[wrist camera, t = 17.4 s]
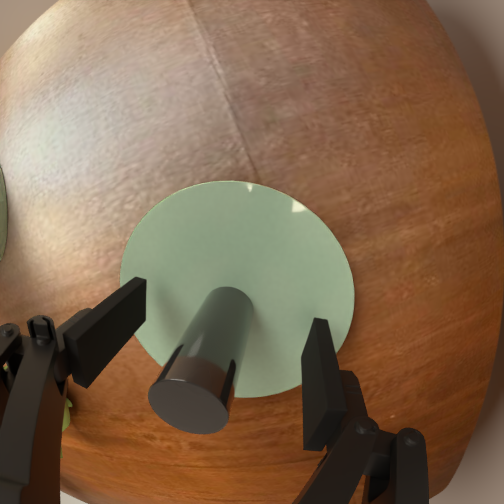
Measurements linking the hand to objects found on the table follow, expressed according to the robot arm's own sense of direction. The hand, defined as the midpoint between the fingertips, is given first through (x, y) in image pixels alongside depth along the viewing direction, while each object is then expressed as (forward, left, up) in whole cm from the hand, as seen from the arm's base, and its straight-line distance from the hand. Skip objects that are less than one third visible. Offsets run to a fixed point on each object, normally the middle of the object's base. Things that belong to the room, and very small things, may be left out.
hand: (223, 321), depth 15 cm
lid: (0, 0, -2) cm, 2 cm away
